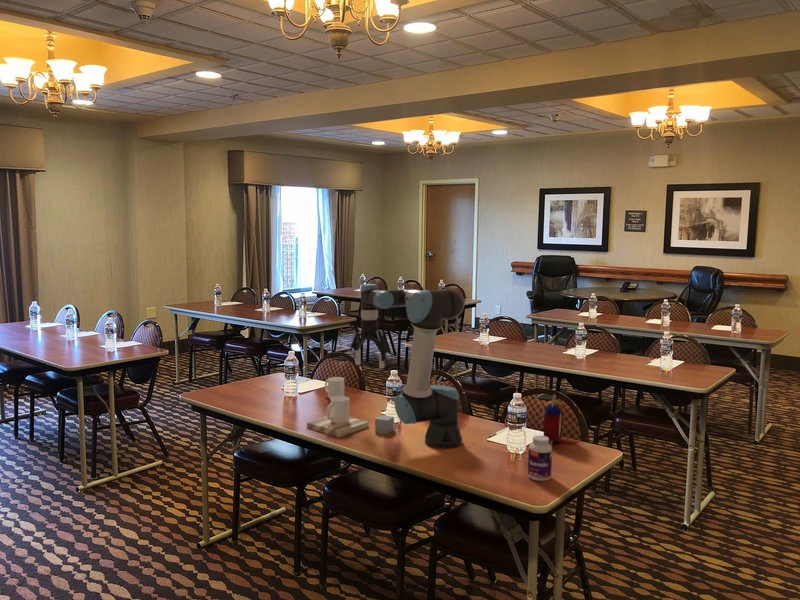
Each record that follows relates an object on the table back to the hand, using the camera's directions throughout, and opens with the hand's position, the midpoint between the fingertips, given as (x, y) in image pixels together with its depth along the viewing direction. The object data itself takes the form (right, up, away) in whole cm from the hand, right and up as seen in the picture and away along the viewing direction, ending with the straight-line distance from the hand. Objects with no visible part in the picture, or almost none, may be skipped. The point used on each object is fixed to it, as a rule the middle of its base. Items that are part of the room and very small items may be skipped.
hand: (369, 366), depth 283 cm
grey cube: (+7, -27, -10) cm, 30 cm away
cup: (-21, -21, +43) cm, 52 cm away
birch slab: (-14, -27, -5) cm, 31 cm away
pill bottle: (+62, -33, -61) cm, 93 cm away
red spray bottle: (+75, -29, -22) cm, 83 cm away
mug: (-14, -24, -6) cm, 29 cm away
